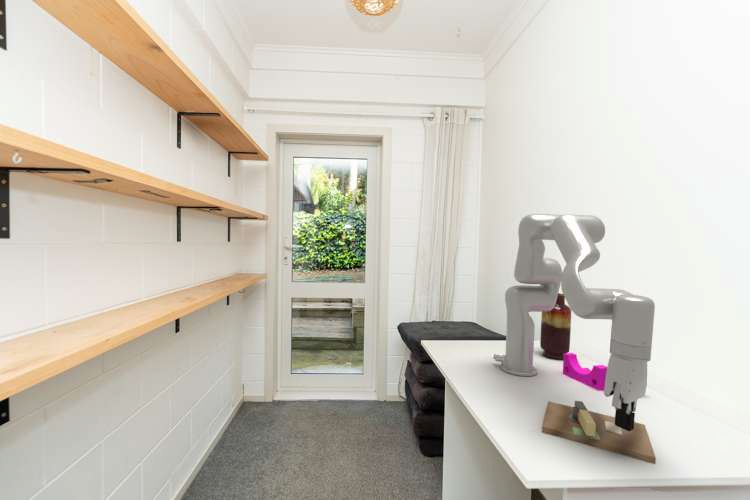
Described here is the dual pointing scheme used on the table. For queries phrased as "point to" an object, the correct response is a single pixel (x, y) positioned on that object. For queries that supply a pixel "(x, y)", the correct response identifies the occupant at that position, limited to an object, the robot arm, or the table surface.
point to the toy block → (584, 372)
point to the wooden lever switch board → (599, 432)
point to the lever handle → (584, 418)
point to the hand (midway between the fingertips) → (623, 427)
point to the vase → (556, 329)
